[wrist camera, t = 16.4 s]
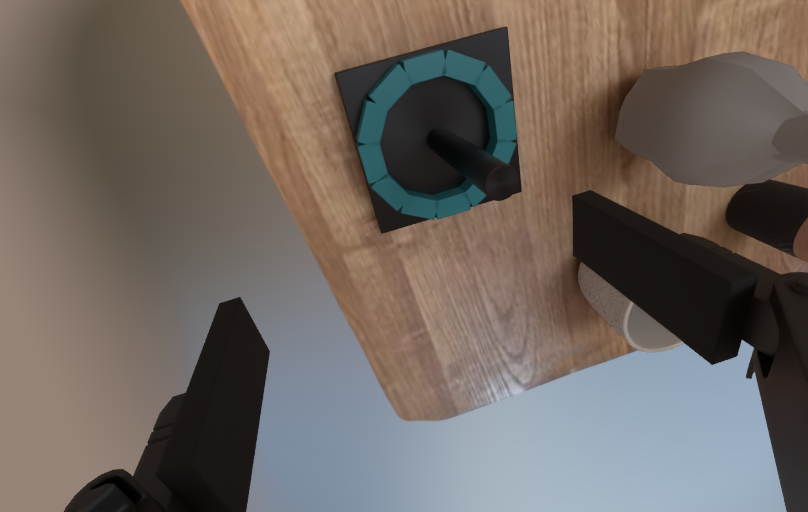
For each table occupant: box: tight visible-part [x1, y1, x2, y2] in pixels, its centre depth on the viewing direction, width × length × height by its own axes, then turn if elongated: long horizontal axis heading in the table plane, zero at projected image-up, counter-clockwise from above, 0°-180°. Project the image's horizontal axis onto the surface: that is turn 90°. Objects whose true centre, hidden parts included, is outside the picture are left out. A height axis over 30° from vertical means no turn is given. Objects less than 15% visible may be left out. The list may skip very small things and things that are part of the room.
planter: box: [578, 262, 684, 352], centre depth 47 cm, size 12×12×11 cm
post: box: [335, 27, 521, 233], centre depth 32 cm, size 16×16×16 cm
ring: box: [356, 50, 517, 220], centre depth 37 cm, size 15×15×2 cm
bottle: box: [614, 51, 808, 187], centre depth 29 cm, size 11×11×30 cm
